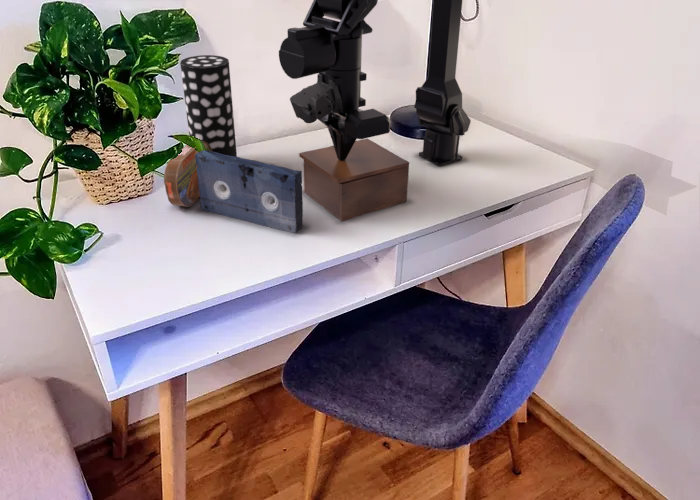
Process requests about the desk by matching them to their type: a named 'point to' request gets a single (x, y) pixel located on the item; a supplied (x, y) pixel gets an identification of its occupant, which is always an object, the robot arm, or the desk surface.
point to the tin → (183, 177)
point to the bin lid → (354, 161)
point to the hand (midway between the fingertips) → (341, 159)
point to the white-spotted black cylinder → (209, 101)
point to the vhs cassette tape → (250, 190)
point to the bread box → (356, 191)
